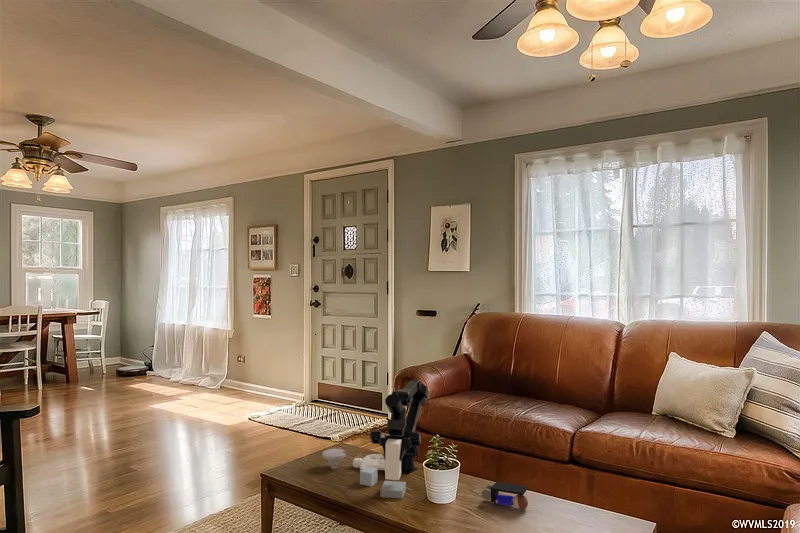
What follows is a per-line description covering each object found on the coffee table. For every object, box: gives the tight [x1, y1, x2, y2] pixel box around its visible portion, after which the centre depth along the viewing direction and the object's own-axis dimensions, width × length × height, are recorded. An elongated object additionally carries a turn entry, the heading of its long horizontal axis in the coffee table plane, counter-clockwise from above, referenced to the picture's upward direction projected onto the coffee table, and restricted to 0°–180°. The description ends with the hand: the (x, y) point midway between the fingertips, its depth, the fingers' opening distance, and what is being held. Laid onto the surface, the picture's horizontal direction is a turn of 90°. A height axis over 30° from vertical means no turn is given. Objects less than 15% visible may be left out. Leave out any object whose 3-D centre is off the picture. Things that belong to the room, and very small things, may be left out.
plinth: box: [379, 480, 407, 499], centre depth 183 cm, size 8×8×3 cm
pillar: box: [384, 439, 402, 481], centre depth 183 cm, size 5×5×13 cm
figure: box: [352, 453, 385, 472], centre depth 204 cm, size 11×6×20 cm
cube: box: [359, 467, 378, 487], centre depth 192 cm, size 5×5×5 cm
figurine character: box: [481, 480, 529, 511], centre depth 172 cm, size 7×8×15 cm
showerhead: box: [322, 448, 347, 470], centre depth 207 cm, size 9×7×10 cm
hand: (392, 460), depth 181 cm, fingers closed on pillar, 5 cm apart
